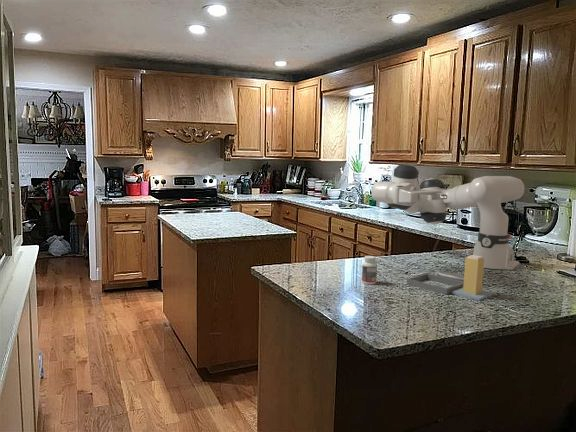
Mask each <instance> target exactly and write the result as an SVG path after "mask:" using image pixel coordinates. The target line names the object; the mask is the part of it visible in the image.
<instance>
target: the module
mask: <svg viewBox="0 0 576 432" xmlns="http://www.w3.org/2000/svg"><path fill="white" fill-rule="evenodd" d="M464 263H465V264H464V273H463V276H464V285H463V292H466V293H470V294H474V295H476V294H479V293H482V290H483V283H484V282H483V281H484V280H483V279H484V270H485V268H484V258H483V257H482V256H476V255H473V254H470V255H467V256H466V257H465V261H464Z"/></svg>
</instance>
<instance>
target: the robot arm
mask: <svg viewBox="0 0 576 432" xmlns="http://www.w3.org/2000/svg"><path fill="white" fill-rule="evenodd" d="M419 174H420V172H419V170H418V169H417V167H416V166H413V164H412V165H411V164H406V163H403V164H399V165H397V166H396V167H395V168H394V169H393V178H392V181H389V180H387V181H386V180H385V181H376V182H375V183H374V184H373V186H372V187H371V188H372V189H371V197H372V198H371V199H373V200H374V201H376V202H378V203H382V204H387V205H388V206H389V207H390V208H391V209H399V210H403V212H406V213H409V214H415V213H419V214H420V215H419V218H422V220H423V221H424V222H426V223H427V224H431V225H439V224H441V223H443V222H444V221H445V220H446V219H447V212H446V211H447V210H446V207H448V208H449V209H451V210H463V209H469V208H475V207H477V208H478V210H479V215H480V218H479V219H480V220H479V232H478V235H477V242H476V243H475V244H474V247H473V248H474V249H473V254H472V255H476V256H482V257H483V258H484V269H492V270H511V271H513V270H514V269H516V268H517V267H518V266H519V265H520V261H518V260H515V250H514V249H513V248H512V246H511V245H510V244H509V243H510V240H511V238H512V234H510V233H508V230H509V221H510V220H509V218H510V217H509V215H508V214H507V213H506V212H504V210H503V208H502V203H508V202H513V201H517V200H519V199H521V198H522V197H523V195H524V193H525V184H524V182H523V181H522V179H520V178H517V177H515V176H510V175H484V176H479V177H475V178H474V179H472V180H471V182H468V183H464V184H460V185H457V186H455V187H452V188H446V187H447V186H448V185H447V184H445V183H444V182H443V181H441V180H440V179H439V178H431V177H430V178H427V179H425V180H422V181H420V180H419ZM419 181H420V182H419Z"/></svg>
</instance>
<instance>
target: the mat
mask: <svg viewBox="0 0 576 432" xmlns="http://www.w3.org/2000/svg"><path fill="white" fill-rule="evenodd" d="M450 294H453V295H455V296H459V297H463V298H467V299H471V300H474V301H479V302H480V301H482V300H485V299H486V298H489V297H493V295H494V292H492V291H486V290H483V289H482V293H479V294H476V295H474V294H470V293H466V292H463V287H462V288H460V289H457V290H454V291H452V293H450Z"/></svg>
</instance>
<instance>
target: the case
mask: <svg viewBox="0 0 576 432" xmlns="http://www.w3.org/2000/svg"><path fill="white" fill-rule="evenodd" d="M424 280H429V281H433V282H437V283H442V284H446V285H450V286H449V287H443V286H439V285H435V284H430V283H427V282H422V281H424ZM406 285H409V286H411V287H412V286H413V287H417V288H419V289H424V290H427V291H431V292H436V293H438V294H443V295H449V294H451V293H452V291H454V290H457V289H460V288H462V287H463V285H464V274H459V273H454V272H449V271H445V270H443V271H435V272H434V274H431V273H424V274H420V275H416V276H412V277H409V278H407V279H406Z"/></svg>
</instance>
